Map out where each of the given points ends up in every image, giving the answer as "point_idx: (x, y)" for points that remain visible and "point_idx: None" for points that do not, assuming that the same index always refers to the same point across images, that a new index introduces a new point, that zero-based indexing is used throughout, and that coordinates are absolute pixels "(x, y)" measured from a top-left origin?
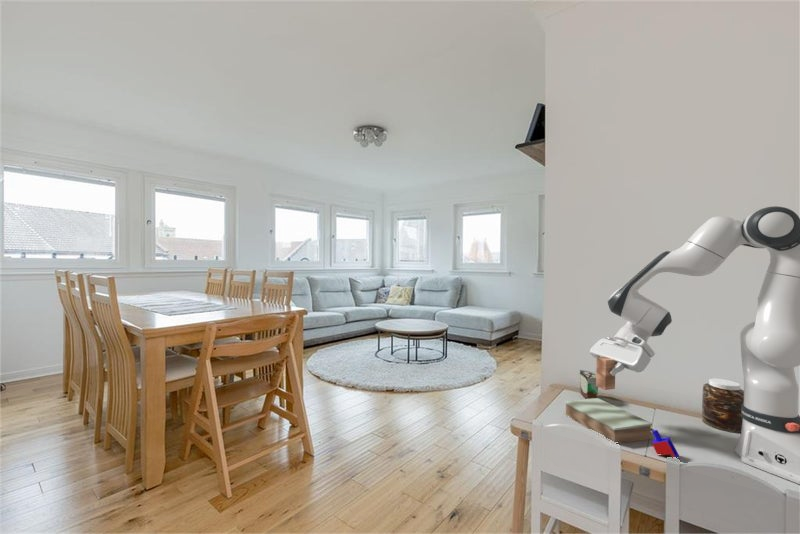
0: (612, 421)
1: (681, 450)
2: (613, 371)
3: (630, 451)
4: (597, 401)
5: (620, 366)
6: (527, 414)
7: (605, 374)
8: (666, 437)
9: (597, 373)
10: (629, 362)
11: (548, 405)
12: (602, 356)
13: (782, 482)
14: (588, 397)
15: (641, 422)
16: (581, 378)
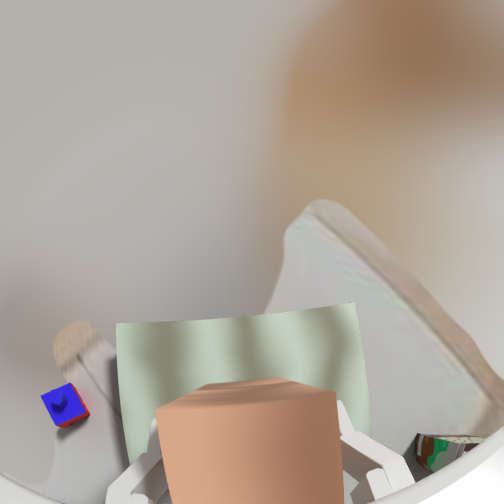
0: (158, 358)
1: (91, 462)
2: (151, 441)
3: (99, 341)
4: None
5: (113, 496)
6: (342, 210)
7: (192, 392)
8: (61, 423)
9: (280, 383)
10: (10, 497)
11: (403, 301)
12: (384, 496)
13: None
14: (423, 439)
15: (139, 445)
16: None
